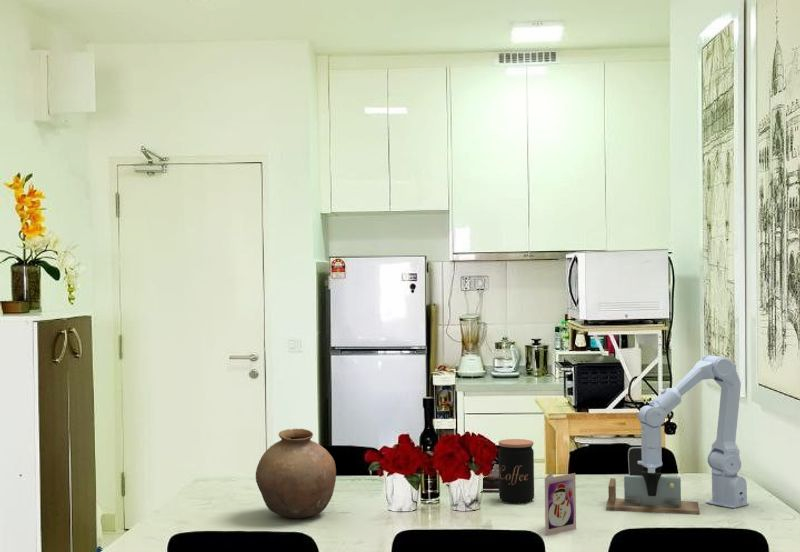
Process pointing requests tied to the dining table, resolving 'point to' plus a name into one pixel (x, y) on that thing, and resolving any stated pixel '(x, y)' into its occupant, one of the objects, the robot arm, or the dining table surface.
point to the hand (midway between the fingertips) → (652, 493)
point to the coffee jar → (516, 471)
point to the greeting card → (560, 503)
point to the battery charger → (635, 461)
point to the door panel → (665, 490)
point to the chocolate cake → (492, 481)
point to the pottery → (296, 475)
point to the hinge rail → (634, 505)
